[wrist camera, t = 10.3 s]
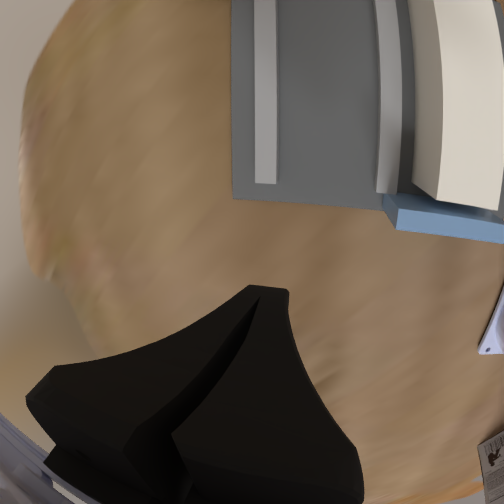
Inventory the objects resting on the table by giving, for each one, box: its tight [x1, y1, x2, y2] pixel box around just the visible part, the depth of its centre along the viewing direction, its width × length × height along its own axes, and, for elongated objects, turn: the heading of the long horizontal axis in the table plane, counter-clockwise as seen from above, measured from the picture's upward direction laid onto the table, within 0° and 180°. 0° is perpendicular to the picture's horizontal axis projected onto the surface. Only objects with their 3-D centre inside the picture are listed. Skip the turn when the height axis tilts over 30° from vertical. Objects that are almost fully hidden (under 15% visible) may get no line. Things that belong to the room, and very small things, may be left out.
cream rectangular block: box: [407, 0, 504, 211], centre depth 10 cm, size 4×12×4 cm, turn 1°
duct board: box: [231, 0, 504, 244], centre depth 11 cm, size 18×16×4 cm
